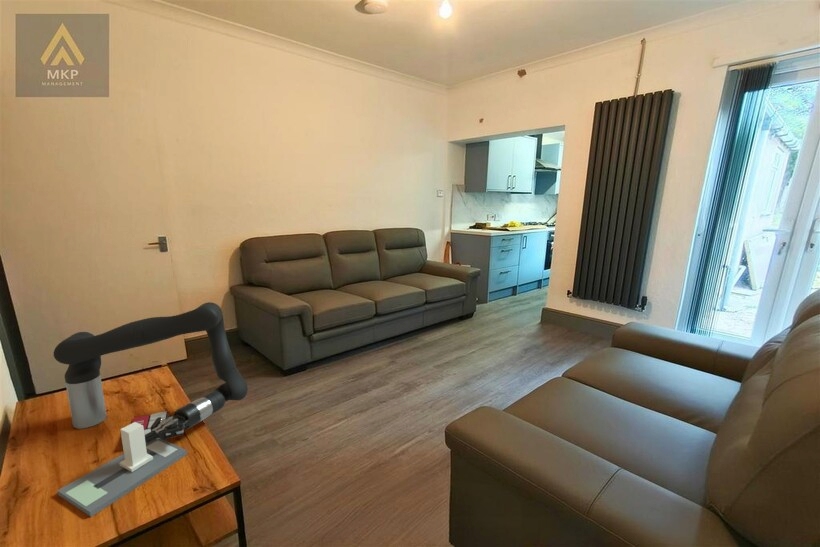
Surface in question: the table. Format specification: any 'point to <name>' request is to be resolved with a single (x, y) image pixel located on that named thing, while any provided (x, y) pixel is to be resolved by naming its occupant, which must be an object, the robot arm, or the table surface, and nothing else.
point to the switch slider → (134, 447)
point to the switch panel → (118, 478)
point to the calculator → (149, 420)
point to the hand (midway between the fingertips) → (141, 441)
